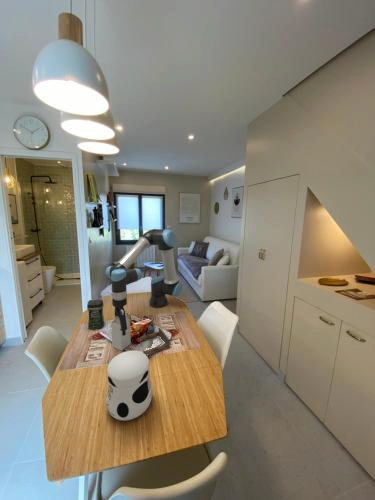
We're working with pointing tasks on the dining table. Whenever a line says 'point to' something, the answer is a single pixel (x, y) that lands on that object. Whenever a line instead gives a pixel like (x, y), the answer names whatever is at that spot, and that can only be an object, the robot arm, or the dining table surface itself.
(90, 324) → the coffee jar
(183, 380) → the dining table surface
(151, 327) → the winch drum
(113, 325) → the milk carton
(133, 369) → the milk container
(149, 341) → the bay
